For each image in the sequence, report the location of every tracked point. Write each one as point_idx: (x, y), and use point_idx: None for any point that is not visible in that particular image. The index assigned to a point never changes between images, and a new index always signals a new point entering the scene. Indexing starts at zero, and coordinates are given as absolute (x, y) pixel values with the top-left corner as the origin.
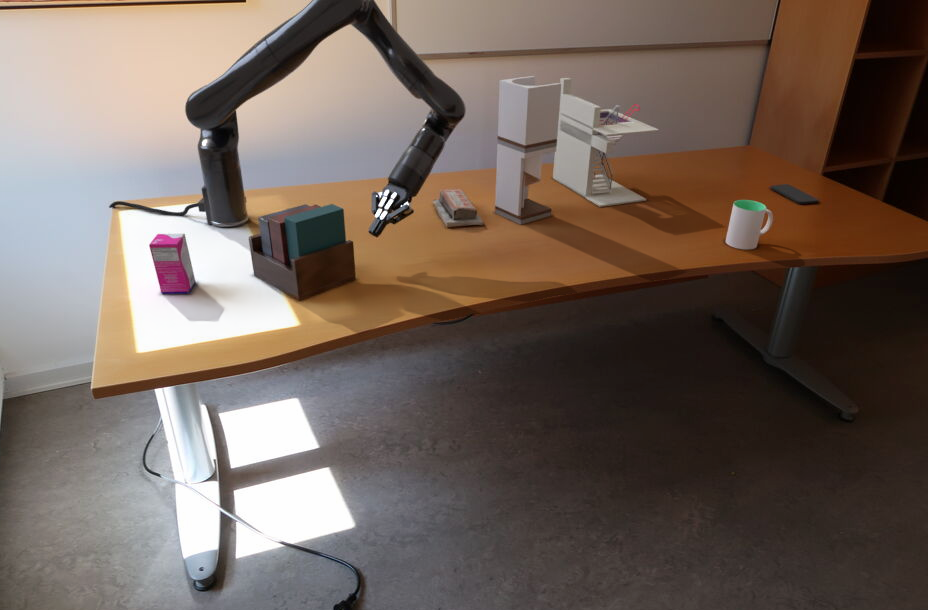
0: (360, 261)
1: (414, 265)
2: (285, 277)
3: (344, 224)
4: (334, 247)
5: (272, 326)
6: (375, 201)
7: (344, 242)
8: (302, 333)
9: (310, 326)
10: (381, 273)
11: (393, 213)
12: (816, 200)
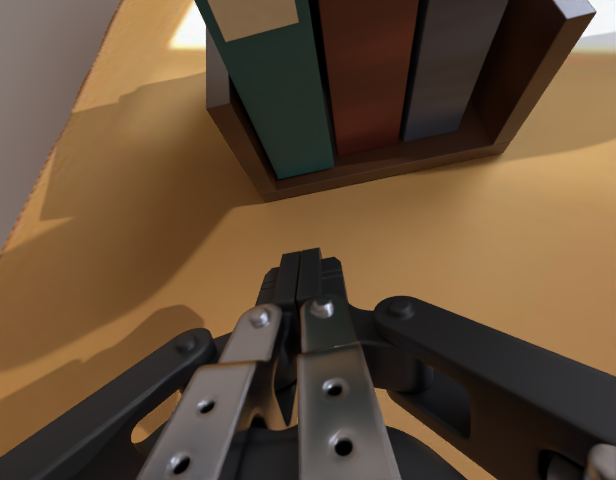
0: (383, 276)
1: None
2: None
3: (196, 4)
4: (207, 39)
5: (198, 14)
6: (501, 380)
7: (221, 78)
8: (143, 44)
9: (151, 59)
10: (255, 289)
11: (131, 386)
12: None
